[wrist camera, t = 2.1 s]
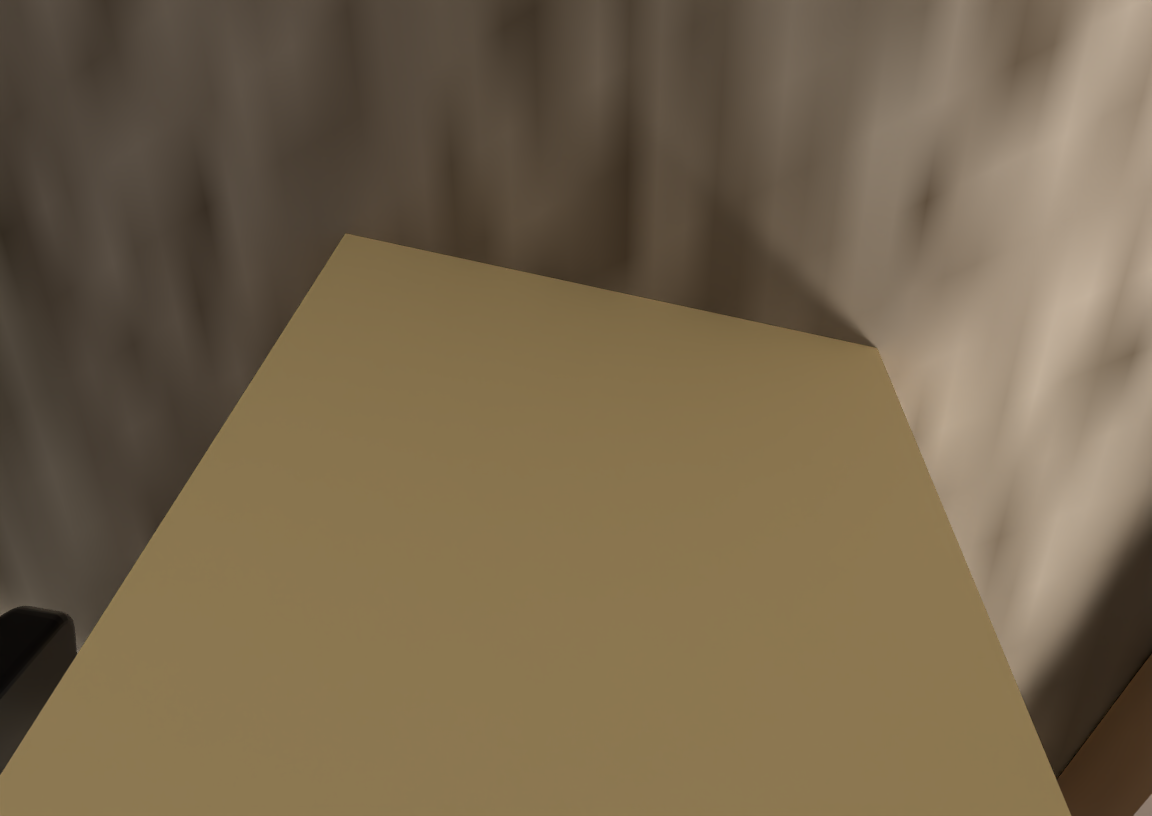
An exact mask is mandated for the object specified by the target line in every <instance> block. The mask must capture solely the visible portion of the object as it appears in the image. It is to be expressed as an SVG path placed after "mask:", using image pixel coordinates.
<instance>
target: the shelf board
mask: <svg viewBox="0 0 1152 816" xmlns="http://www.w3.org/2000/svg"><path fill="white" fill-rule="evenodd" d="M1057 782H1058V785H1059V787H1060V790H1061V792H1062V794H1063V797H1064V799H1065V802H1066V804H1067V806H1068V809H1069V811H1070V814H1071V816H1152V654H1151V655H1150V657H1149V658H1148V659H1147V661H1146V662H1145V663H1144V665H1143V666H1142V667H1141V669H1140V670H1139V671H1138V673H1137V674H1136V675H1135V677H1134V678H1133V679H1132V681H1131V682H1130V683H1129V685H1128V686H1127V687H1126V689H1125V690H1124V691H1123V693H1122V694H1121V695H1120V697H1119V698H1118V699H1117V701H1116V702H1115V703H1114V705H1113V706H1112V707H1111V709H1110V710H1109V711H1108V713H1107V714H1106V715H1105V717H1104V718H1103V719H1102V721H1101V722H1100V723H1099V725H1098V726H1097V727H1096V729H1095V730H1094V731H1093V732H1092V734H1091V735H1090V736H1089V738H1088V739H1087V740H1086V742H1085V743H1084V744H1083V746H1082V747H1081V748H1080V750H1079V751H1078V752H1077V754H1076V755H1075V756H1074V758H1073V759H1072V760H1071V762H1070V763H1069V764H1068V766H1067V767H1066V768H1065V770H1064V771H1063V772H1062V774H1061V775H1060V776H1059V778H1058V779H1057Z"/></svg>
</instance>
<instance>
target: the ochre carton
mask: <svg viewBox="0 0 1152 816" xmlns="http://www.w3.org/2000/svg"><path fill="white" fill-rule="evenodd" d="M0 816H1071V814H1070V811H1069V809H1068V806H1067V804H1066V802H1065V799H1064V797H1063V794H1062V792H1061V790H1060V787H1059V785H1058V782H1057V780H1056V778H1055V775H1054V773H1053V770H1052V768H1051V765H1050V763H1049V761H1048V758H1047V756H1046V753H1045V751H1044V749H1043V746H1042V744H1041V741H1040V739H1039V737H1038V734H1037V732H1036V729H1035V727H1034V725H1033V722H1032V720H1031V717H1030V715H1029V713H1028V710H1027V708H1026V705H1025V703H1024V701H1023V698H1022V696H1021V693H1020V691H1019V689H1018V686H1017V684H1016V681H1015V679H1014V676H1013V674H1012V672H1011V669H1010V667H1009V664H1008V662H1007V660H1006V657H1005V655H1004V652H1003V650H1002V648H1001V645H1000V643H999V640H998V638H997V636H996V633H995V631H994V628H993V626H992V624H991V621H990V619H989V616H988V614H987V612H986V609H985V607H984V604H983V602H982V600H981V597H980V595H979V592H978V590H977V587H976V585H975V583H974V580H973V578H972V575H971V573H970V571H969V568H968V566H967V563H966V561H965V559H964V556H963V554H962V551H961V549H960V547H959V544H958V542H957V539H956V537H955V535H954V532H953V530H952V527H951V525H950V523H949V520H948V518H947V515H946V513H945V511H944V508H943V506H942V503H941V501H940V499H939V496H938V494H937V491H936V489H935V486H934V484H933V482H932V479H931V477H930V474H929V472H928V470H927V467H926V465H925V462H924V460H923V458H922V455H921V453H920V450H919V448H918V446H917V443H916V441H915V438H914V436H913V434H912V431H911V429H910V426H909V424H908V422H907V419H906V417H905V414H904V412H903V410H902V407H901V405H900V402H899V400H898V397H897V395H896V393H895V390H894V388H893V385H892V383H891V381H890V378H889V376H888V373H887V371H886V369H885V366H884V364H883V361H882V359H881V357H880V354H879V352H878V349H877V348H875V347H870V346H865V345H861V344H856V343H851V342H847V341H842V340H837V339H833V338H828V337H824V336H819V335H814V334H810V333H805V332H800V331H796V330H791V329H787V328H782V327H777V326H773V325H768V324H763V323H759V322H754V321H749V320H745V319H740V318H736V317H731V316H726V315H722V314H717V313H712V312H708V311H703V310H698V309H694V308H689V307H685V306H680V305H675V304H671V303H666V302H661V301H657V300H652V299H647V298H643V297H638V296H634V295H629V294H624V293H620V292H615V291H610V290H606V289H601V288H596V287H592V286H587V285H583V284H578V283H573V282H569V281H564V280H559V279H555V278H550V277H546V276H541V275H536V274H532V273H527V272H522V271H518V270H513V269H508V268H504V267H499V266H495V265H490V264H485V263H481V262H476V261H471V260H467V259H462V258H457V257H453V256H448V255H444V254H439V253H434V252H430V251H425V250H420V249H416V248H411V247H406V246H402V245H397V244H393V243H388V242H383V241H379V240H374V239H369V238H365V237H360V236H355V235H351V234H346V233H345V235H344V236H343V238H342V240H341V241H340V243H339V244H338V246H337V247H336V249H335V251H334V252H333V254H332V255H331V257H330V258H329V260H328V262H327V263H326V265H325V266H324V268H323V269H322V271H321V273H320V274H319V276H318V277H317V279H316V280H315V282H314V283H313V285H312V287H311V288H310V290H309V291H308V293H307V294H306V296H305V298H304V299H303V301H302V302H301V304H300V305H299V307H298V309H297V310H296V312H295V313H294V315H293V316H292V318H291V320H290V321H289V323H288V324H287V326H286V327H285V329H284V331H283V332H282V334H281V335H280V337H279V338H278V340H277V342H276V343H275V345H274V346H273V348H272V349H271V351H270V353H269V354H268V356H267V357H266V359H265V360H264V362H263V364H262V365H261V367H260V368H259V370H258V371H257V373H256V375H255V376H254V378H253V379H252V381H251V382H250V384H249V386H248V387H247V389H246V390H245V392H244V393H243V395H242V396H241V398H240V400H239V401H238V403H237V404H236V406H235V407H234V409H233V411H232V412H231V414H230V415H229V417H228V418H227V420H226V422H225V423H224V425H223V426H222V428H221V429H220V431H219V433H218V434H217V436H216V437H215V439H214V440H213V442H212V444H211V445H210V447H209V448H208V450H207V451H206V453H205V455H204V456H203V458H202V459H201V461H200V462H199V464H198V466H197V467H196V469H195V470H194V472H193V473H192V475H191V477H190V478H189V480H188V481H187V483H186V484H185V486H184V488H183V489H182V491H181V492H180V494H179V495H178V497H177V499H176V500H175V502H174V503H173V505H172V506H171V508H170V509H169V511H168V513H167V514H166V516H165V517H164V519H163V520H162V522H161V524H160V525H159V527H158V528H157V530H156V531H155V533H154V535H153V536H152V538H151V539H150V541H149V542H148V544H147V546H146V547H145V549H144V550H143V552H142V553H141V555H140V557H139V558H138V560H137V561H136V563H135V564H134V566H133V568H132V569H131V571H130V572H129V574H128V575H127V577H126V579H125V580H124V582H123V583H122V585H121V586H120V588H119V590H118V591H117V593H116V594H115V596H114V597H113V599H112V601H111V602H110V604H109V605H108V607H107V608H106V610H105V612H104V613H103V615H102V616H101V618H100V619H99V621H98V622H97V624H96V626H95V627H94V629H93V630H92V632H91V633H90V635H89V637H88V638H87V640H86V641H85V643H84V644H83V646H82V648H81V649H80V651H79V652H78V654H77V655H76V657H75V659H74V660H73V662H72V663H71V665H70V666H69V668H68V670H67V671H66V673H65V674H64V676H63V677H62V679H61V681H60V682H59V684H58V685H57V687H56V688H55V690H54V692H53V693H52V695H51V696H50V698H49V699H48V701H47V703H46V704H45V706H44V707H43V709H42V710H41V712H40V714H39V715H38V717H37V718H36V720H35V721H34V723H33V725H32V726H31V728H30V729H29V731H28V732H27V734H26V735H25V737H24V739H23V740H22V742H21V743H20V745H19V746H18V748H17V750H16V751H15V753H14V754H13V756H12V757H11V759H10V761H9V762H8V764H7V765H6V767H5V768H4V770H3V772H2V773H1V775H0Z"/></svg>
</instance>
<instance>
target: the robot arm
mask: <svg viewBox="0 0 1152 816" xmlns="http://www.w3.org/2000/svg"><path fill="white" fill-rule="evenodd" d="M76 655H77V649H76V638H75V627H74V623H73V620H72V619H71V617H70V616H69V615H68V614H66V613H63V612H59V611H53V610H48V609H42V608H37V607H32V606H20V607H17V608H14V609H12V610H10V611H8V612H6V613H4V614H3V615H1V616H0V775H1V773H2V772H3V770H4V768H5V767H6V765H7V764H8V762H9V761H10V759H11V757H12V756H13V754H14V753H15V751H16V750H17V748H18V746H19V745H20V743H21V742H22V740H23V739H24V737H25V735H26V734H27V732H28V731H29V729H30V728H31V726H32V725H33V723H34V721H35V720H36V718H37V717H38V715H39V714H40V712H41V710H42V709H43V707H44V706H45V704H46V703H47V701H48V699H49V698H50V696H51V695H52V693H53V692H54V690H55V688H56V687H57V685H58V684H59V682H60V681H61V679H62V677H63V676H64V674H65V673H66V671H67V670H68V668H69V666H70V665H71V663H72V662H73V660H74V659H75V657H76Z"/></svg>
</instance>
